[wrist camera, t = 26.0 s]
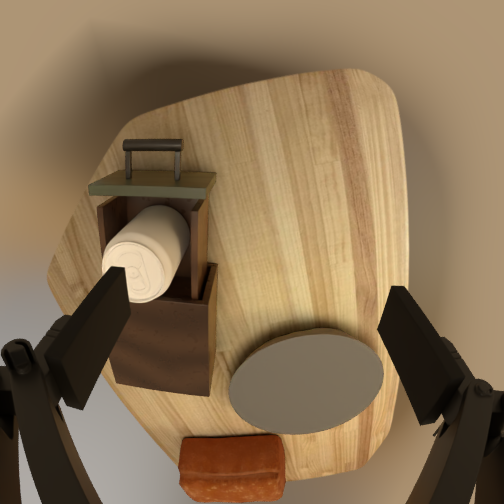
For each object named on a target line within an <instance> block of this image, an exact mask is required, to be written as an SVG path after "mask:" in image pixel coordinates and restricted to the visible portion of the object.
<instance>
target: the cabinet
mask: <svg viewBox="0 0 504 504" xmlns="http://www.w3.org/2000/svg"><path fill="white" fill-rule="evenodd" d="M217 276H218V264H213V263H207V282H206V286H205V290H204V293H203V297H202V301H201V300H190V299H179V298H169V297H157V298H155V299H153V300H151V301H149V302H145V303H134V302H130V301H129V303H130V309H131V315H130V317H129V319H128V321H127V323H126V325H125V326H124V328H123V330H122V332H121V334H120V336H119V338H118V340H117V342H116V344H115V346H114V347H113V349H112V351H111V353H110V355H109V360H110V363H111V367H112V370H113V374H114V377H115V380H116V383H118V384H123V385H129V386H134V387H140V388H146V389H152V390H159V391H165V392H173V393H180V394H188V395H197V396H207V397H209V396H210V389H211V382H212V375H213V368H214V361H215V354H216V322H217Z"/></svg>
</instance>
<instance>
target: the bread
mask: <svg viewBox="0 0 504 504" xmlns="http://www.w3.org/2000/svg"><path fill="white" fill-rule="evenodd" d="M178 469H179V472H180V481H179V484H180V486H181V487H182V488H183V490H184V491H185V492H186V494H187V495H188V496H189V497H190V498H192V499H193V500H194V501H197V502H239V503H240V502H241V503H243V502H254V501H275V500H278V499H280V498H281V497H282V495H283V491H284V487H285V483H286V480H285V453H284V448H283V444H282V441H281V438H280V437H278V436H277V435H260V436H247V437H228V438H185V439H183V440H182V444H181V449H180V457H179V465H178Z"/></svg>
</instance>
